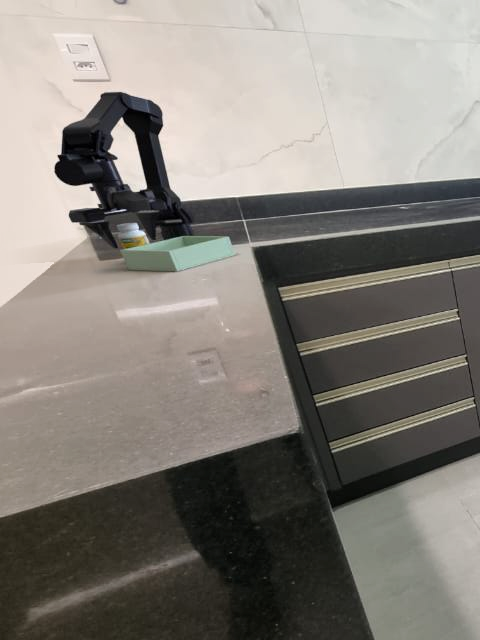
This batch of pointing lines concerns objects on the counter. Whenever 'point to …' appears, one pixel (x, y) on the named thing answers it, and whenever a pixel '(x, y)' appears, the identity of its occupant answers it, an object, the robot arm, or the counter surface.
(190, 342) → the counter surface
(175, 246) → the bin
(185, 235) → the robot arm
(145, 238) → the supplement bottle
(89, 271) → the counter surface
